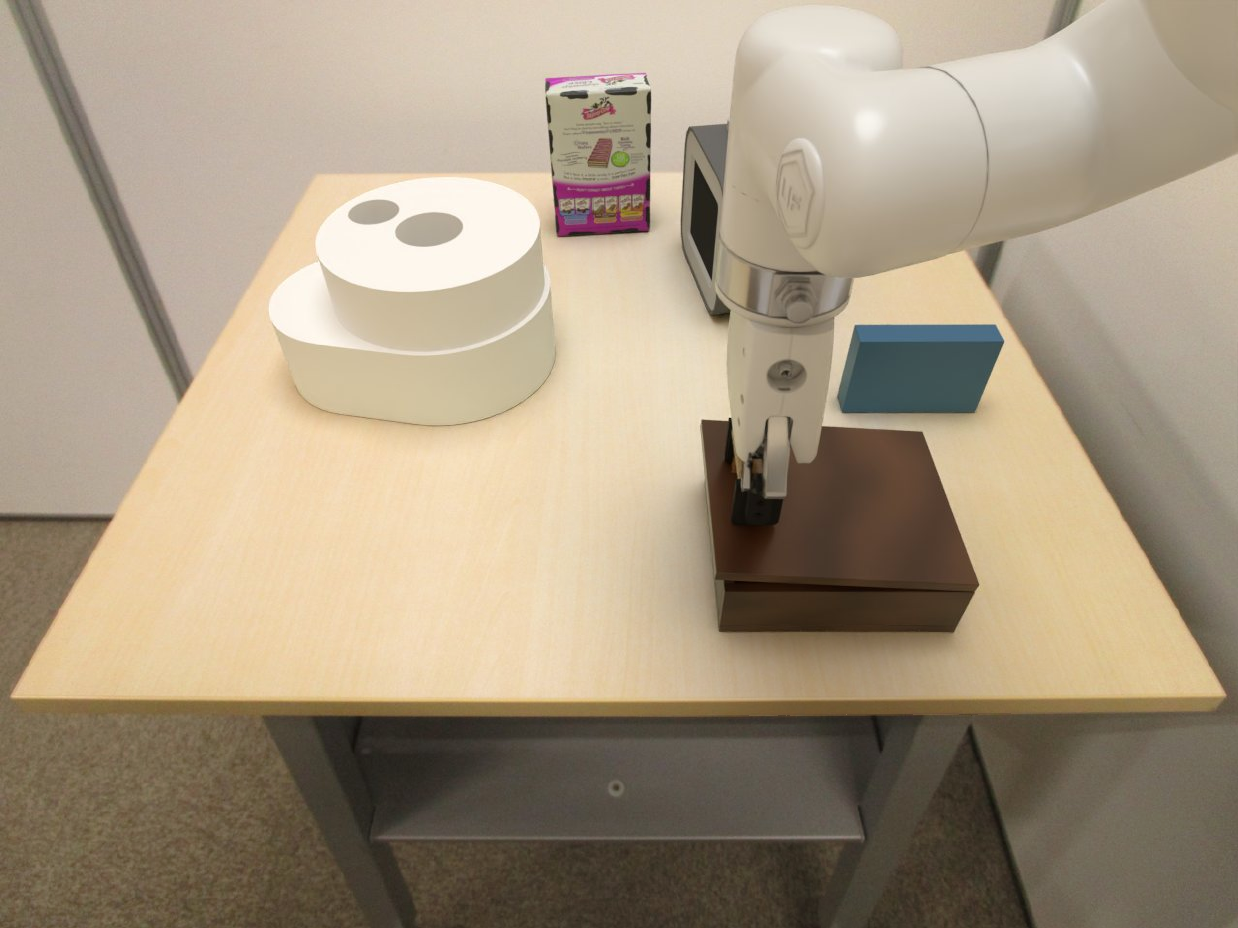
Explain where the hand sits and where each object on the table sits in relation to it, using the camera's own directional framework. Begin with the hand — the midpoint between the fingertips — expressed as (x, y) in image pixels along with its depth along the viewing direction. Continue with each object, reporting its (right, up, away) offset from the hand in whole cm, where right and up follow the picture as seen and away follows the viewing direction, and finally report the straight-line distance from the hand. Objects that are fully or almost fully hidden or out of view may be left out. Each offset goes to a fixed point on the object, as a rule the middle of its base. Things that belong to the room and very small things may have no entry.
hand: (750, 488), depth 57 cm
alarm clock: (+5, +22, +31) cm, 39 cm away
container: (-28, +12, +22) cm, 37 cm away
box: (+6, -5, +5) cm, 9 cm away
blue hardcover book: (+17, +7, +17) cm, 25 cm away
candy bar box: (-11, +30, +40) cm, 51 cm away
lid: (+6, -1, +1) cm, 6 cm away
